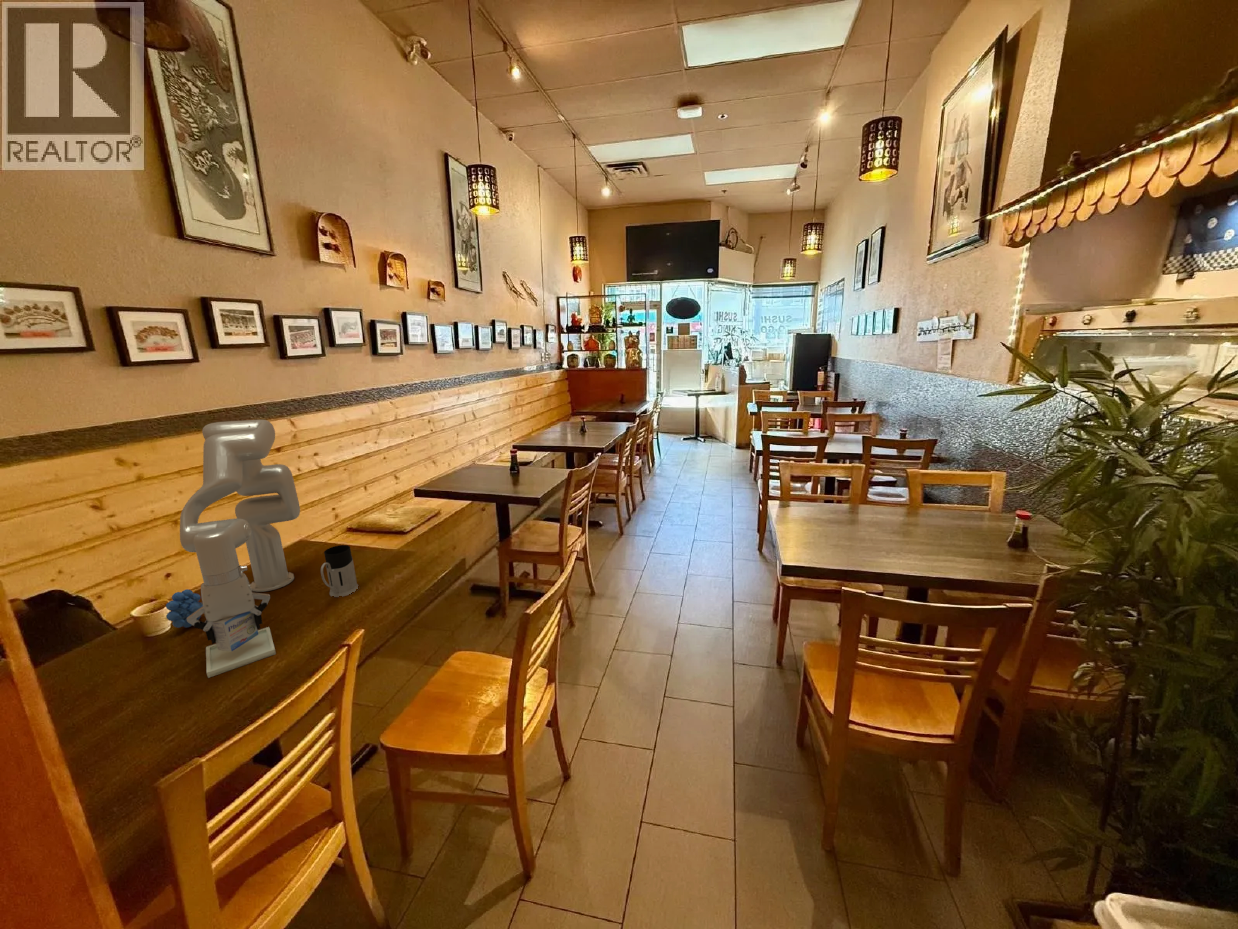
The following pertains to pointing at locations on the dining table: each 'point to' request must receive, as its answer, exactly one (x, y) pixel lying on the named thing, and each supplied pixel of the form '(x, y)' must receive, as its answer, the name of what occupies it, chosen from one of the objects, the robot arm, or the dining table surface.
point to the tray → (239, 654)
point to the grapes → (183, 607)
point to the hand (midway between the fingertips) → (236, 634)
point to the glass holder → (339, 571)
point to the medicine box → (234, 631)
